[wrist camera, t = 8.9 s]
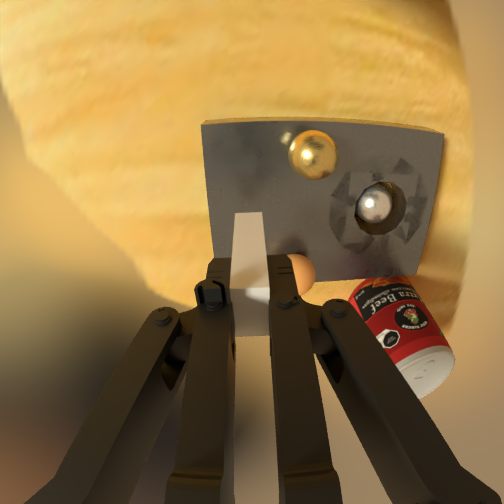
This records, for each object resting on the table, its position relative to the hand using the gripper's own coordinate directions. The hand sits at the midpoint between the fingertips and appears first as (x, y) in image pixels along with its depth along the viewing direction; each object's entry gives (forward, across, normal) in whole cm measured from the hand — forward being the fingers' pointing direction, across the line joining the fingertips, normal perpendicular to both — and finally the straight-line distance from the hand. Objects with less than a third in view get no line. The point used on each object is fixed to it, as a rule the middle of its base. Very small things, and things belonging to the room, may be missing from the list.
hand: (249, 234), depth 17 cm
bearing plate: (+7, +6, -1) cm, 9 cm away
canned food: (+7, +13, -12) cm, 19 cm away
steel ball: (+5, +10, -1) cm, 11 cm away
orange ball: (+3, +3, -5) cm, 7 cm away
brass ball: (+3, +4, +4) cm, 6 cm away
